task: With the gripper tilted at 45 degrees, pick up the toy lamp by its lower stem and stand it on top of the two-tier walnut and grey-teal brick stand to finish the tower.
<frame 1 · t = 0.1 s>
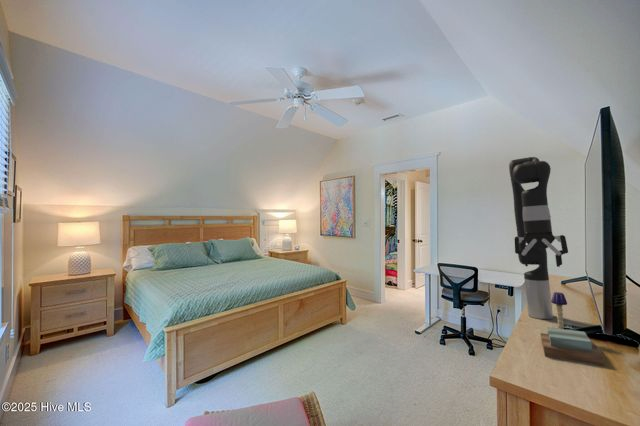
hand: (541, 266, 95), 29 cm above the dresser, tool pointing down, fingers open, 8 cm apart
brick stand: (569, 352, 93), on the dresser
toy lamp: (562, 337, 105), on the dresser
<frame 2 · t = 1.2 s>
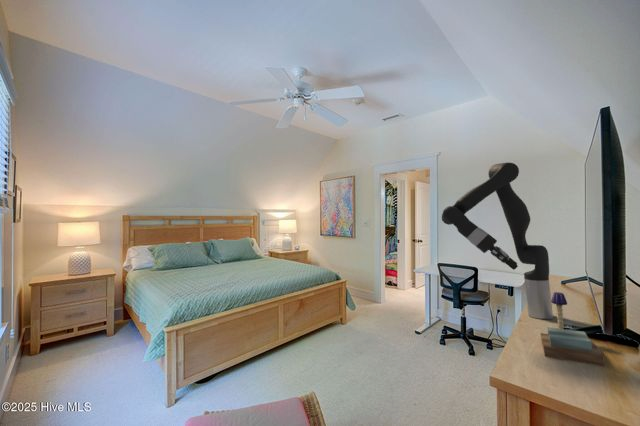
hand: (515, 266, 114), 26 cm above the dresser, tool tilted 45°, fingers open, 8 cm apart
nothing on the dresser moved.
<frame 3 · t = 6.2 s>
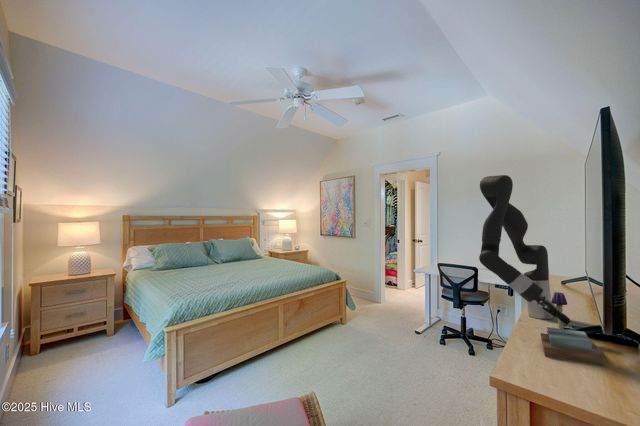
hand: (568, 321, 105), 6 cm above the dresser, tool tilted 45°, fingers closed on toy lamp
toy lamp: (562, 337, 105), on the dresser, touching gripper
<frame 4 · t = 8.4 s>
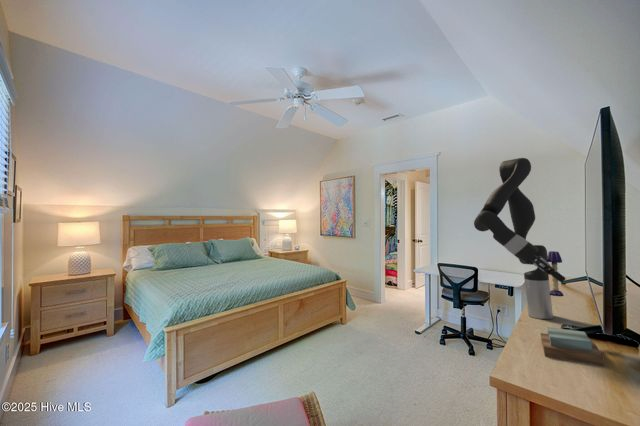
hand: (563, 279, 105), 22 cm above the dresser, tool tilted 45°, fingers closed on toy lamp
toy lamp: (557, 295, 106), point 16 cm above the dresser, touching gripper
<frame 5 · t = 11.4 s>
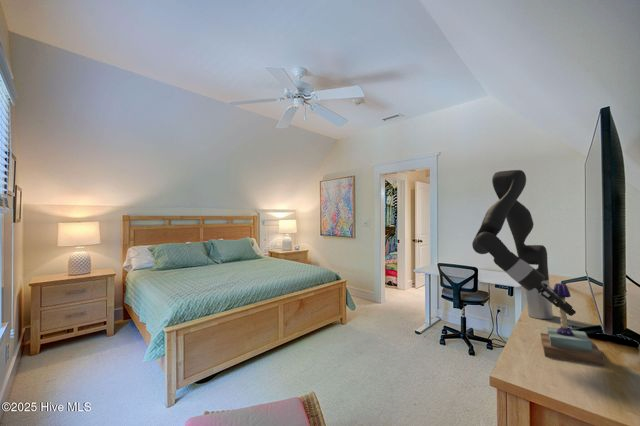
hand: (571, 311, 93), 14 cm above the dresser, tool tilted 45°, fingers open, 5 cm apart
toy lamp: (566, 334, 94), point 6 cm above the dresser, touching brick stand
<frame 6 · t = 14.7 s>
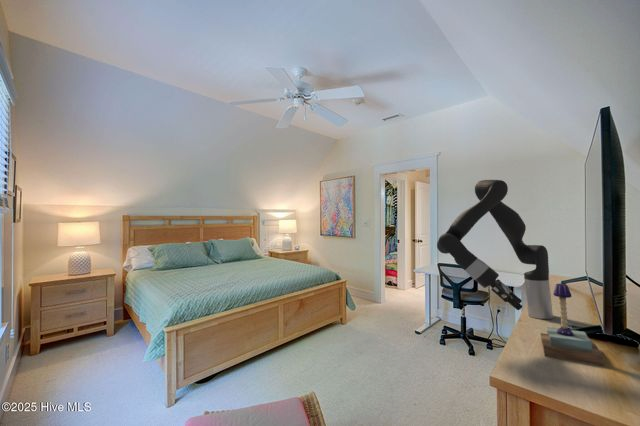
hand: (520, 305, 101), 14 cm above the dresser, tool tilted 45°, fingers open, 8 cm apart
nothing on the dresser moved.
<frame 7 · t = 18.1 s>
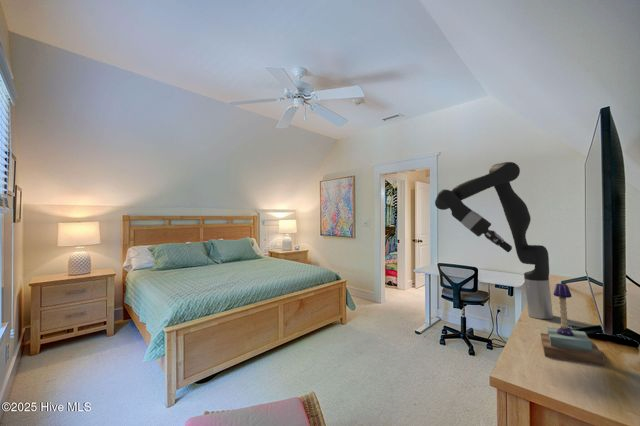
hand: (510, 249, 112), 34 cm above the dresser, tool tilted 45°, fingers open, 8 cm apart
nothing on the dresser moved.
at the end: toy lamp inside the target area on the brick stand (0.2 cm from its centre), point 5.8 cm above the brick stand's base; toy lamp tilted 0°; the gripper is holding nothing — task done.
